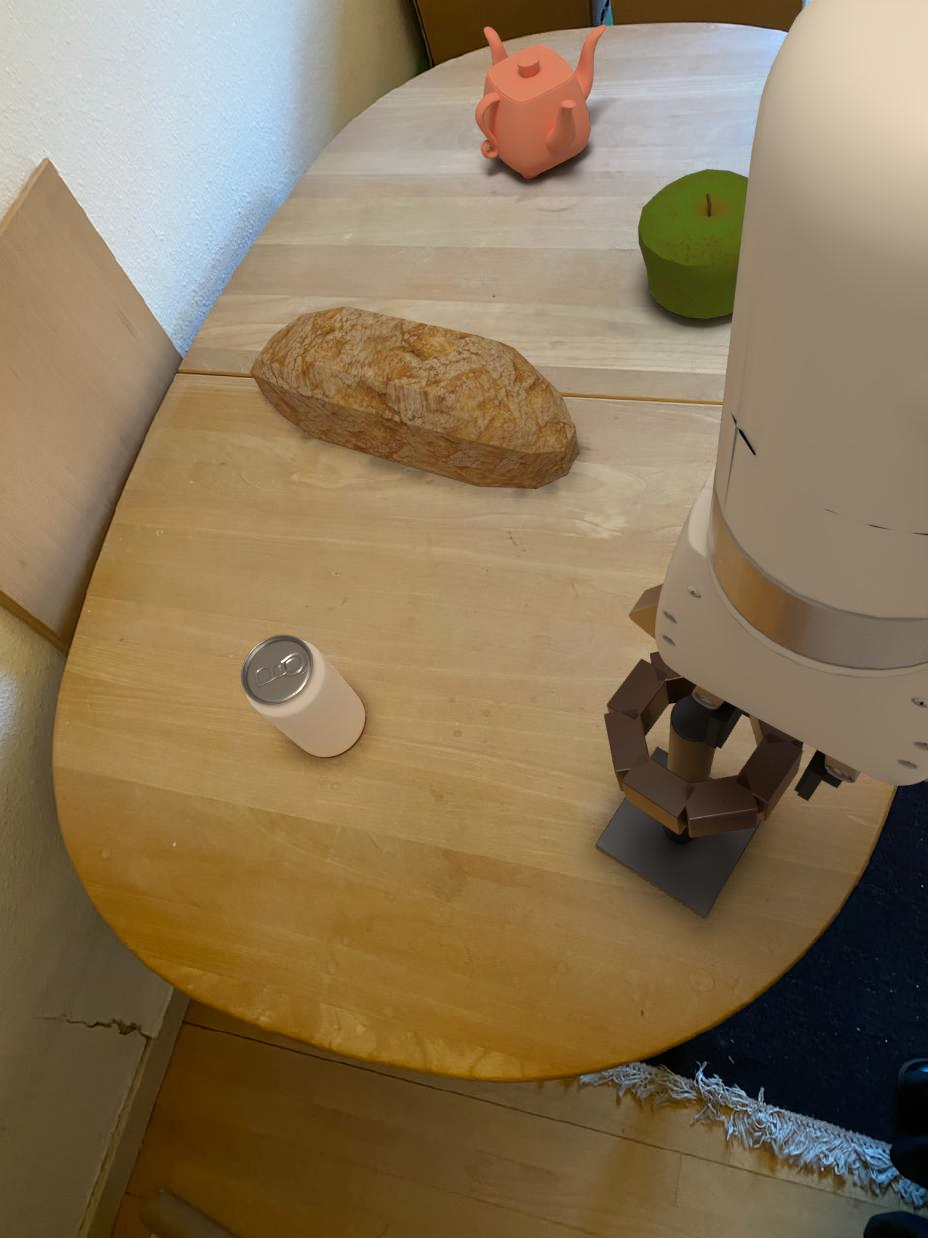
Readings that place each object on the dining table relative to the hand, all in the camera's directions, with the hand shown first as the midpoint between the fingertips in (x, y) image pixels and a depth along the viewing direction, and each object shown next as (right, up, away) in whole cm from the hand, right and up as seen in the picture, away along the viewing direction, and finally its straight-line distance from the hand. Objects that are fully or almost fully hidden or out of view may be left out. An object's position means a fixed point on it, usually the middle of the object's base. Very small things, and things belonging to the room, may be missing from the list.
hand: (772, 742), depth 37 cm
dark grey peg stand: (+2, -10, +25) cm, 27 cm away
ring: (-1, -1, +6) cm, 7 cm away
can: (-25, -4, +35) cm, 43 cm away
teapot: (-3, +62, +63) cm, 89 cm away
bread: (-19, +26, +49) cm, 58 cm away
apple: (+11, +39, +48) cm, 63 cm away
